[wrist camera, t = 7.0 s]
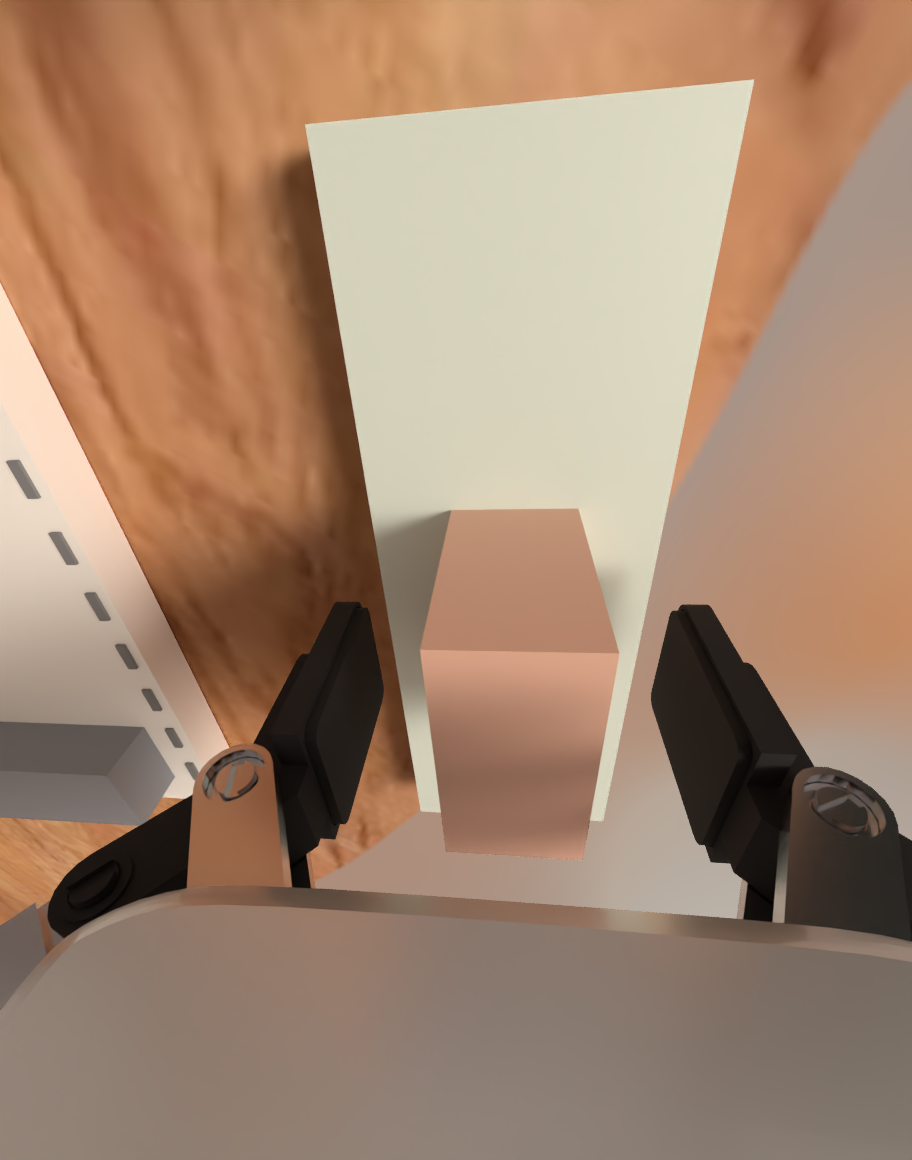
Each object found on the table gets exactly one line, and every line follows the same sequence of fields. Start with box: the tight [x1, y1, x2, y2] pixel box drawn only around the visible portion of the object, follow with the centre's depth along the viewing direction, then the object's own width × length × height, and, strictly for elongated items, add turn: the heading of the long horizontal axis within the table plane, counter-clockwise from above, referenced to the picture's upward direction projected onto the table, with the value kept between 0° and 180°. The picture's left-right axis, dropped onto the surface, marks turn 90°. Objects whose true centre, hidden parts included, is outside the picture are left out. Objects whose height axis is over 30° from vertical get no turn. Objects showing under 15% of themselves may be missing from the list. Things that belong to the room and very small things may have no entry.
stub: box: [305, 80, 754, 860], centre depth 12 cm, size 20×7×6 cm, turn 3°
